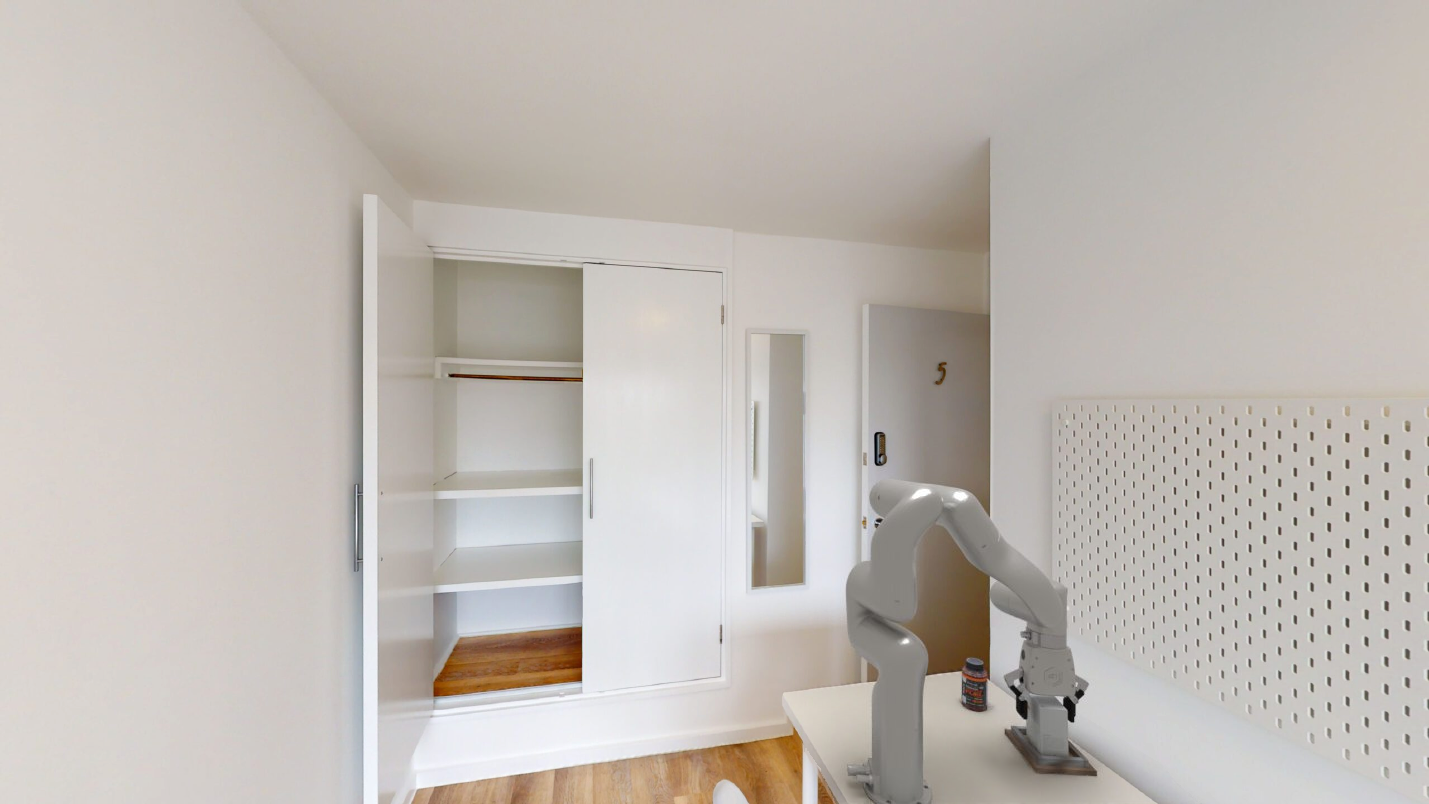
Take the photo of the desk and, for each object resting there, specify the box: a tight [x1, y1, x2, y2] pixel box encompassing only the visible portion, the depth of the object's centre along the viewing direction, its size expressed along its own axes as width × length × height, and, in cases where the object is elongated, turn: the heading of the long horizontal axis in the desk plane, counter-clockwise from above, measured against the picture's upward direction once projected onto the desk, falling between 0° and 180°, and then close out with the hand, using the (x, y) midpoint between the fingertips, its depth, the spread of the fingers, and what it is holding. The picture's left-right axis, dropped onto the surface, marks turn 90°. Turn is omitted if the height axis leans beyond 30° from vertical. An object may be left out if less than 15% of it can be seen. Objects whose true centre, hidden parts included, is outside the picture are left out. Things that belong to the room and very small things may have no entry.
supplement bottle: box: [961, 657, 989, 712], centre depth 139 cm, size 6×6×11 cm
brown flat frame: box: [1004, 725, 1098, 777], centre depth 119 cm, size 12×14×2 cm
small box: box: [1025, 693, 1069, 757], centre depth 119 cm, size 8×6×10 cm
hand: (1045, 717), depth 119 cm, fingers open, 9 cm apart
